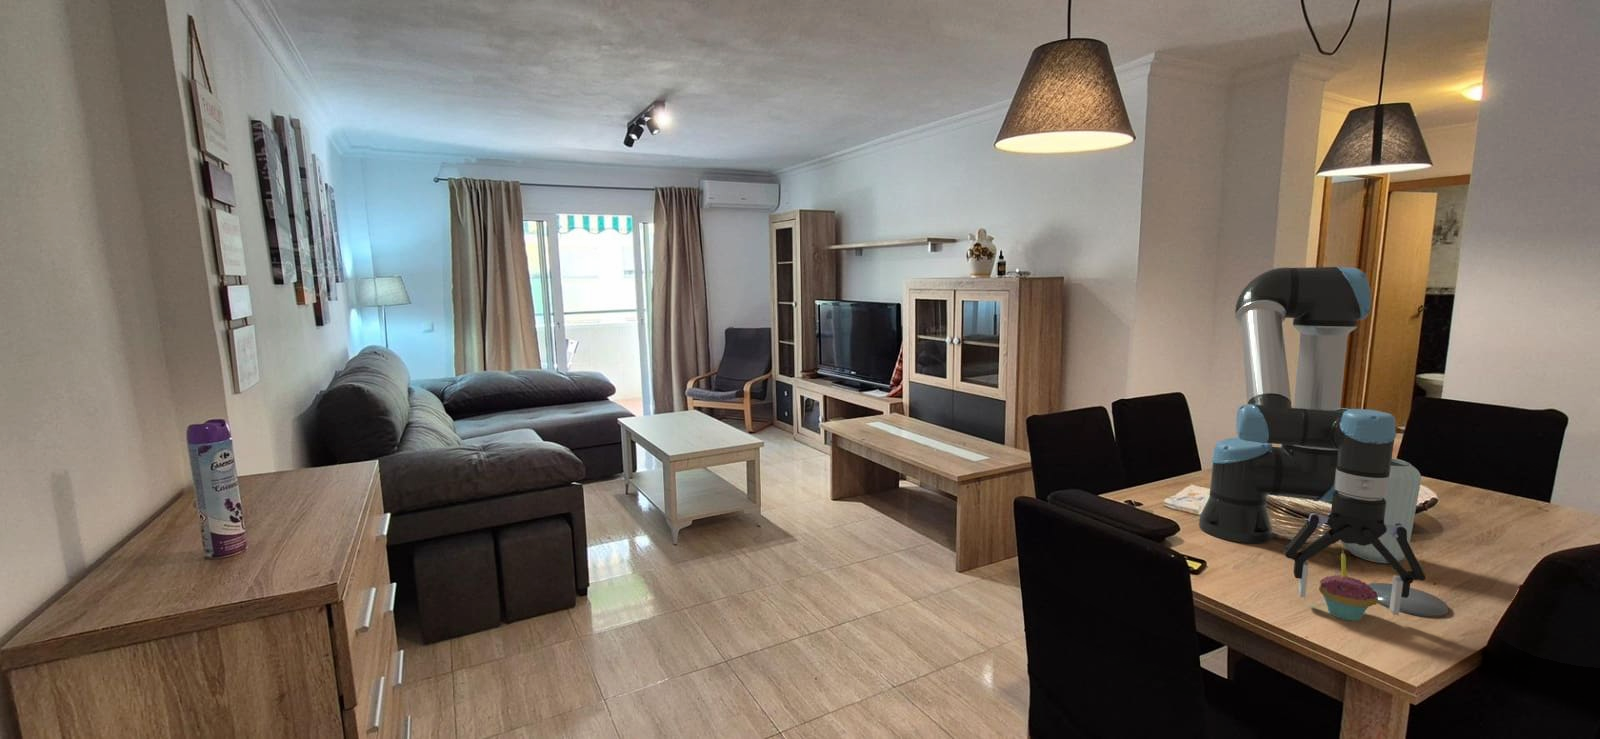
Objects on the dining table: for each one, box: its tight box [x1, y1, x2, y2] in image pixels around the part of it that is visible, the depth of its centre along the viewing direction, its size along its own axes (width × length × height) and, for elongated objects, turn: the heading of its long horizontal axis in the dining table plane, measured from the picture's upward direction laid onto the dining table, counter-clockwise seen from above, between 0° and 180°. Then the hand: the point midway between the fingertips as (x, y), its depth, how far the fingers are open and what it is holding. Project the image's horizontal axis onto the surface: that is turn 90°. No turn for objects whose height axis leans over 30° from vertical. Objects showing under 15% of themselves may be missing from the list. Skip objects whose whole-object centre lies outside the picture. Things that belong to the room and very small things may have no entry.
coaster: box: [1367, 582, 1449, 618], centre depth 130 cm, size 12×12×1 cm
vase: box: [1341, 457, 1422, 564], centre depth 148 cm, size 12×12×22 cm
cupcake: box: [1318, 549, 1378, 621], centre depth 124 cm, size 9×8×12 cm
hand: (1346, 603), depth 125 cm, fingers open, 13 cm apart
